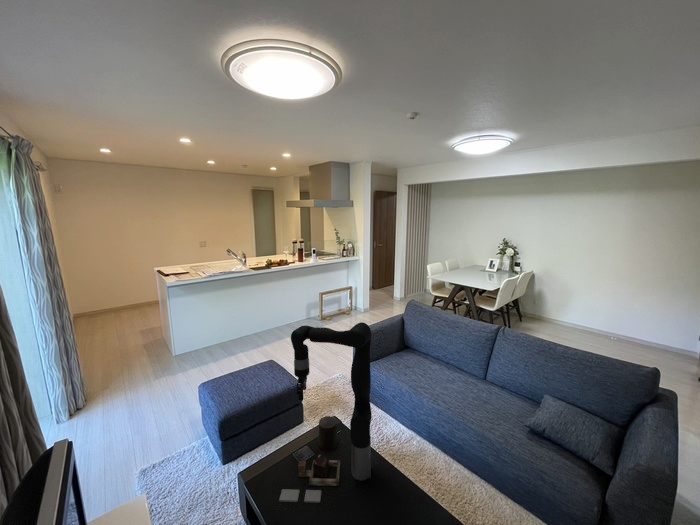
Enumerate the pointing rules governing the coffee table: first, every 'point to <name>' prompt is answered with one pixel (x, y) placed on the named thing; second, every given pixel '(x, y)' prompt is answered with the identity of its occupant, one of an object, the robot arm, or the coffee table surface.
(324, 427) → the pillar candle
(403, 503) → the coffee table surface
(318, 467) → the box
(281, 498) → the pair of grey tiles
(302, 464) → the wooden open tray
